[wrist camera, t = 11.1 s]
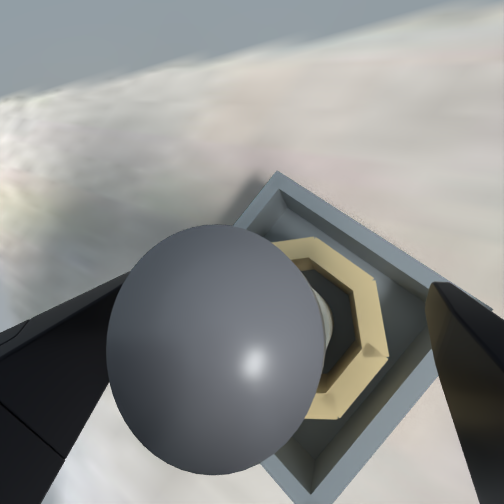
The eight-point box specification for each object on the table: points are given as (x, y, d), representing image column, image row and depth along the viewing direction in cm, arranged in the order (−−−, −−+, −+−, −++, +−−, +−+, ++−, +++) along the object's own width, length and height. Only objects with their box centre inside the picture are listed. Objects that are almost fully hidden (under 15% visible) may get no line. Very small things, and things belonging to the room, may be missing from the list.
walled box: (318, 479, 15) (311, 544, 11) (179, 328, 19) (136, 333, 15) (458, 309, 15) (507, 309, 11) (286, 194, 19) (273, 161, 15)
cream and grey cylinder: (282, 369, 16) (135, 506, 5) (255, 303, 18) (89, 280, 6) (349, 341, 15) (374, 426, 4) (315, 275, 17) (260, 186, 5)
